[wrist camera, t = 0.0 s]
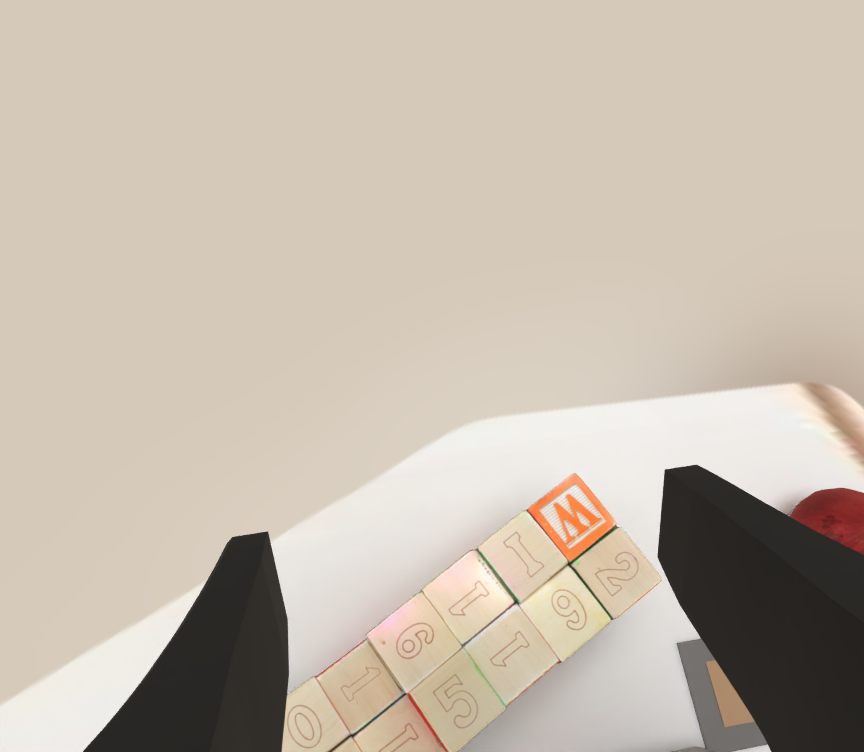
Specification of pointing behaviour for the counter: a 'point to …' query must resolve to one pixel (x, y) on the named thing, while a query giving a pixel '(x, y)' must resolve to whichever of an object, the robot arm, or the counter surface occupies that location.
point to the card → (717, 702)
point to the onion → (835, 515)
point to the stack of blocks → (476, 633)
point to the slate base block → (695, 750)
